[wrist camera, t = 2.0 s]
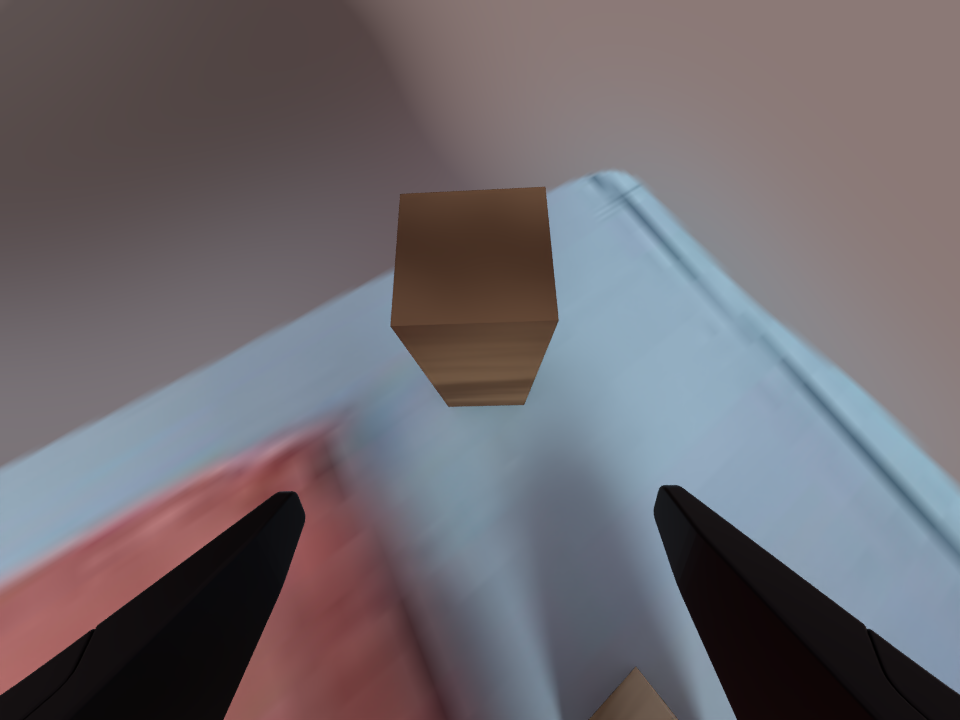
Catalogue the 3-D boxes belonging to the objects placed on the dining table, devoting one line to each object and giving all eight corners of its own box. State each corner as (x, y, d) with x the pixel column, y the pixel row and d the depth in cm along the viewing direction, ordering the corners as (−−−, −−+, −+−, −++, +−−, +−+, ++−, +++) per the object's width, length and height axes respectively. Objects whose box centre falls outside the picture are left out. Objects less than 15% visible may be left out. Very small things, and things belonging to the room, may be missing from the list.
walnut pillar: (524, 404, 22) (558, 320, 10) (448, 406, 22) (390, 325, 10) (520, 334, 24) (545, 187, 12) (449, 337, 24) (400, 194, 12)
